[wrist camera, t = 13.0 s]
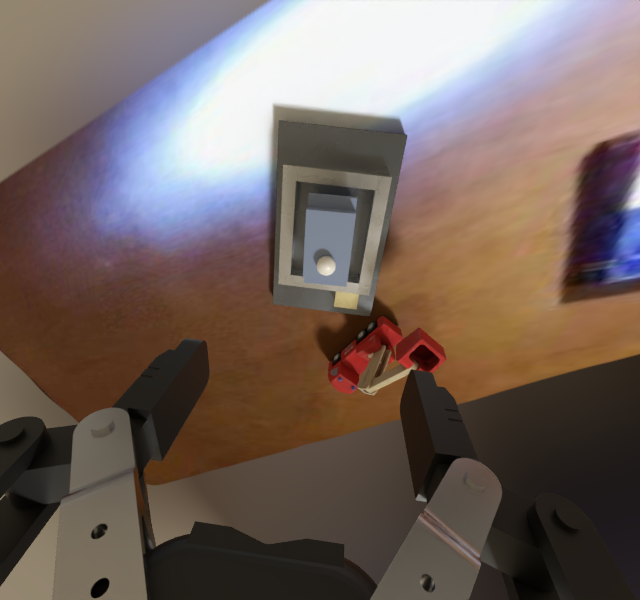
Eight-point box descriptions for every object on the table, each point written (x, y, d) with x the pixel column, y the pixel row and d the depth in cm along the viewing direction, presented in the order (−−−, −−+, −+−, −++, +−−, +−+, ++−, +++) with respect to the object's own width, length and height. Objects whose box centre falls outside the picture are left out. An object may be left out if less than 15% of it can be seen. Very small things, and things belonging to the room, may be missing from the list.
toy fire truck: (325, 362, 40) (319, 423, 31) (405, 290, 34) (423, 341, 26) (345, 376, 40) (344, 439, 32) (426, 308, 35) (450, 363, 26)
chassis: (405, 135, 27) (410, 134, 25) (369, 311, 36) (371, 323, 33) (281, 121, 28) (275, 119, 25) (275, 299, 36) (270, 310, 34)
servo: (356, 191, 29) (357, 202, 24) (346, 271, 32) (346, 295, 27) (313, 187, 29) (305, 197, 24) (308, 267, 32) (301, 290, 28)
